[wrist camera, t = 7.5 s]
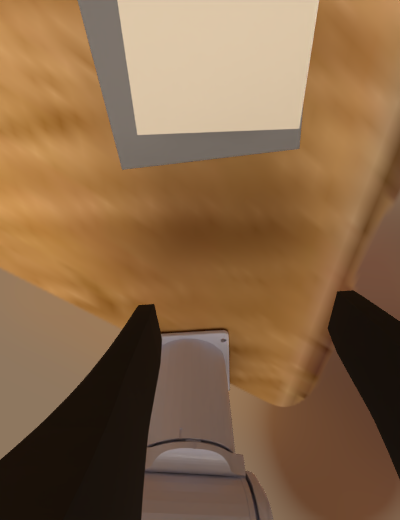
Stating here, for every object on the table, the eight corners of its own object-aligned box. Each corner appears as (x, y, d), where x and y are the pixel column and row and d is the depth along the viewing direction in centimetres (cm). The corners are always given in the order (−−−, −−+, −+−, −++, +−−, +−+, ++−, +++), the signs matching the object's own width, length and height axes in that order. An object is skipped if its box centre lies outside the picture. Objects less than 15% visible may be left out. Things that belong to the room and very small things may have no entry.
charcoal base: (280, 137, 16) (299, 148, 13) (135, 155, 17) (122, 169, 14) (292, -92, 11) (326, -156, 8) (85, -59, 12) (49, -108, 9)
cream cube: (264, 115, 12) (299, 128, 8) (157, 119, 12) (137, 134, 8) (277, -42, 10) (341, -143, 5) (140, -35, 10) (97, -131, 5)
